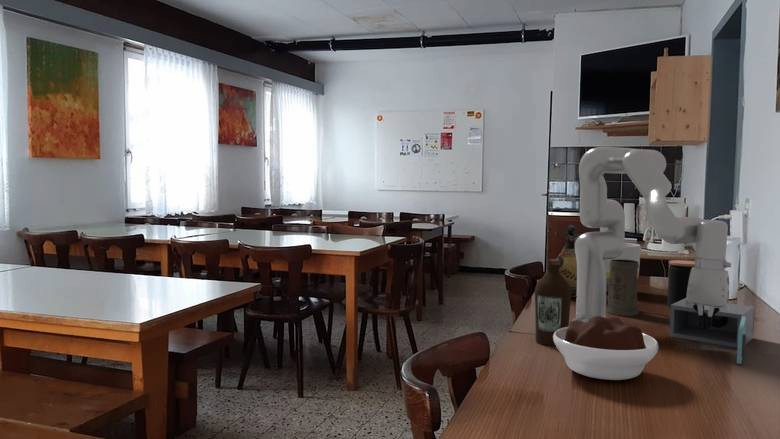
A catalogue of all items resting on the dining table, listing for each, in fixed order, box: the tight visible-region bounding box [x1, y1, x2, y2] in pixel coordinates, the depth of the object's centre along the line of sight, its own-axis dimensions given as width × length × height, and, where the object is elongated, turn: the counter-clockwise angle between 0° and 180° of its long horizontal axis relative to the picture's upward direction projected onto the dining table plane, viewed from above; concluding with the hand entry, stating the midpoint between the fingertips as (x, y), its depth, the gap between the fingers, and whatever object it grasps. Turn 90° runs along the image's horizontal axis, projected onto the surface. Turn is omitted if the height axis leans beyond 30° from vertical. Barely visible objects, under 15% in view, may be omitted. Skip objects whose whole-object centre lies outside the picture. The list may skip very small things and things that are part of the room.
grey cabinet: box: [668, 298, 755, 349], centre depth 190 cm, size 16×20×10 cm
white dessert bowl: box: [553, 315, 659, 381], centre depth 152 cm, size 25×25×15 cm
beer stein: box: [606, 259, 640, 317], centre depth 225 cm, size 15×11×20 cm
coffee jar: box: [667, 259, 695, 308], centre depth 232 cm, size 11×11×18 cm
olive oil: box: [534, 258, 572, 346], centre depth 182 cm, size 11×11×25 cm
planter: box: [603, 242, 641, 293], centre depth 264 cm, size 20×20×21 cm
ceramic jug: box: [555, 224, 579, 298], centre depth 256 cm, size 17×15×30 cm
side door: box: [736, 316, 747, 365], centre depth 169 cm, size 2×19×9 cm, turn 147°
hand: (705, 329), depth 169 cm, fingers closed
